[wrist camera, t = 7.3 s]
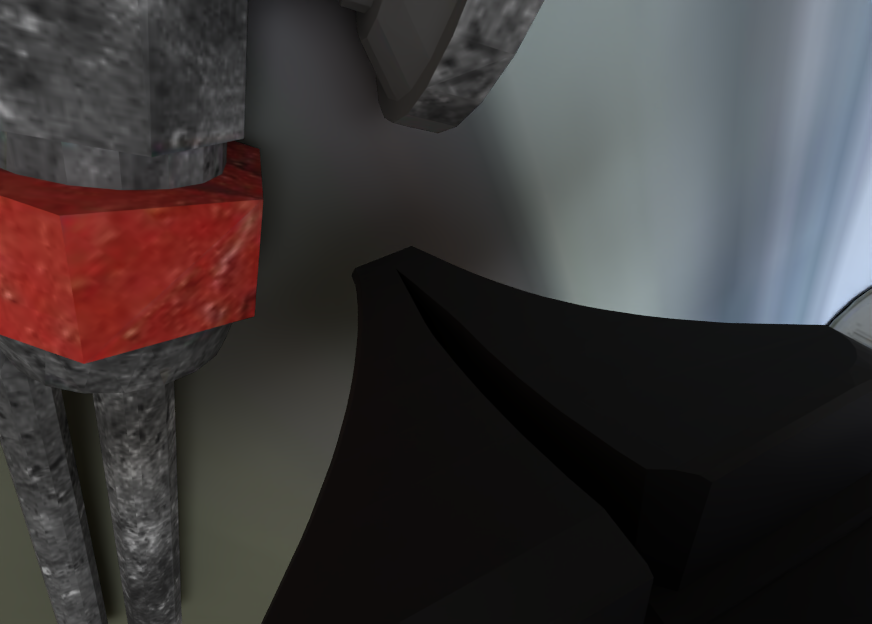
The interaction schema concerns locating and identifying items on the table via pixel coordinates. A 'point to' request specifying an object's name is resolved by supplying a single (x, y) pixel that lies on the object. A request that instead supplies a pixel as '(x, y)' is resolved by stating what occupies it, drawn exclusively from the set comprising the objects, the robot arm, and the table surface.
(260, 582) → the table surface
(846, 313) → the spray can
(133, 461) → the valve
